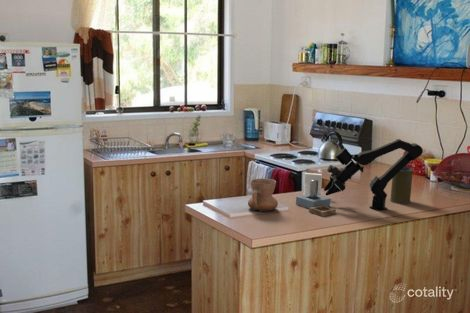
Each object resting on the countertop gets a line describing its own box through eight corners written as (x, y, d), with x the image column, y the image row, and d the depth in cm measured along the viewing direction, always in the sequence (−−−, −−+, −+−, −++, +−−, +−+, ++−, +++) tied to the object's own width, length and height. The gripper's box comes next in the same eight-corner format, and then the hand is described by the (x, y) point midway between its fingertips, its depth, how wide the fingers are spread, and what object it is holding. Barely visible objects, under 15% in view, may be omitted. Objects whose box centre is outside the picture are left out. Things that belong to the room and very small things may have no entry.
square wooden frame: (321, 209, 294) (322, 205, 293) (335, 213, 287) (335, 209, 286) (308, 211, 288) (309, 207, 288) (322, 216, 281) (322, 212, 281)
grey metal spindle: (315, 204, 303) (316, 179, 300) (318, 206, 299) (319, 180, 297) (307, 204, 302) (309, 179, 299) (310, 206, 298) (312, 181, 296)
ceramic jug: (259, 203, 301) (259, 175, 298) (284, 207, 293) (285, 179, 291) (239, 211, 287) (239, 182, 284) (265, 216, 279) (266, 186, 276)
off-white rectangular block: (321, 194, 323) (322, 172, 321) (319, 198, 314) (321, 176, 312) (304, 193, 325) (305, 171, 323) (302, 197, 316) (304, 174, 314)
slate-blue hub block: (312, 201, 309) (313, 193, 308) (329, 206, 300) (330, 198, 299) (295, 204, 301) (296, 196, 301) (313, 209, 292) (313, 201, 291)
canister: (404, 205, 307) (407, 166, 303) (386, 201, 314) (389, 163, 310) (414, 201, 315) (417, 164, 311) (396, 197, 322) (399, 161, 318)
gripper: (335, 156, 305) (312, 177, 307) (339, 163, 286) (315, 185, 289) (350, 172, 306) (327, 192, 308) (355, 180, 287) (331, 201, 290)
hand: (325, 192), depth 299 cm, fingers open, 9 cm apart
